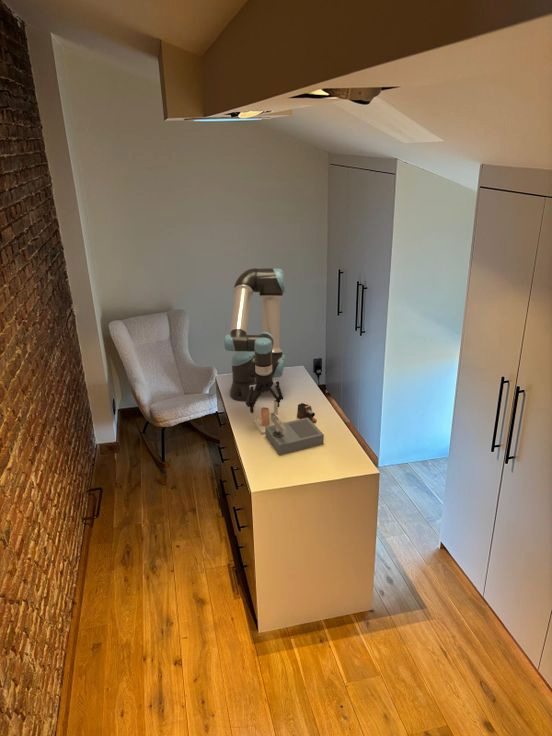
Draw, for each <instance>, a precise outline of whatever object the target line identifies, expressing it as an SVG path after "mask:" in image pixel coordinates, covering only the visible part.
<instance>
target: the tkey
mask: <svg viewBox="0 0 552 736" xmlns="http://www.w3.org/2000/svg"><path fill="white" fill-rule="evenodd" d="M270 419H271V420H272V422H273V423H274V424H275V426H276V434H277V435H280V434H281V433H282V435H285V434H286V427H285V426H284V425H283V423H284V422H282V421H281V419H280V418H279V417H278V416H277V415H276V414H275V413H274V412H272V413H270Z"/></svg>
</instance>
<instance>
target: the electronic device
mask: <svg viewBox="0 0 552 736" xmlns="http://www.w3.org/2000/svg"><path fill="white" fill-rule="evenodd" d="M312 409H313V408H312V406H311V405H309V404H307V403H303V402H301V403H299V404H297V413H296V418H298V419H303V418H309V419H310V420H311V421H312V422H313V423H314V424H315V423H316V422H317V418H315V415H316V413H315V412H313V410H312Z"/></svg>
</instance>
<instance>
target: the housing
mask: <svg viewBox="0 0 552 736" xmlns="http://www.w3.org/2000/svg"><path fill="white" fill-rule="evenodd" d="M282 423H283V425H284V426H285V427H286V434H285V435H282V433H281V434H280V435H277V434H276V426H275V425H273V426H268V427H265V433H266V434H265V438H266V439H267V440H268V443H270V445H271V446H272V447H273V449H274V450H275V451H276V453H277V454H278V455H279V456H283V455H285V454H290V453H294V452H299V451H303V450H305V449H310V448H314V447H318V446H322V445H324V441H325V438H324V437H325V435H324V433H323V432H322V431H321V430H320V429H319V428H318V426H317V425H315V422H314V423H313V422H312V421H311V420H310V419H309V418H303V419H300V418H298V419H295V420H290V421H287V422H282Z"/></svg>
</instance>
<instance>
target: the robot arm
mask: <svg viewBox="0 0 552 736" xmlns="http://www.w3.org/2000/svg"><path fill="white" fill-rule="evenodd" d="M286 288H287V287H286V279H285V273H284V270H283V269H281V268H274V267H273V268H272V267H271V268H269V267H267V268H255V267H254V268H253V267H252V268H249V269H247V270H245V271H244V272H241V274H240V275H239V276H238V278H237V279H236V280H235V283H234V285H233V294H234V300H233V308H232V310H233V311H232V317H231V325H230V333H229V334H225V336H224V340H223V345H224V346H223V347H224V349H225V351H226V352H235V353H234V354H233V355H232V356H231V374H232V381H231V382H232V383H231V385H230V389H229V396H230V397H231V398H232V399H233V400H235V401H239V402H245V405H246V407H247V408H249V412H250V414H251V418H252V419H253V420H256V418H257V417H256V414H257V413H256V406H255V405H256V403H257V401H258V400H259V397H260V395H261V394H262V393H265V392H266V393H267V392H270V394H271V395H272V396H273V398H274V400H273V413H275V415H276V416H277V415H279V412H278V411H279V408H280V403H281V401H282V400H284V395H283V393H282V391H281V387H280V381H279V380H278V379H275V378H281V377H282V376H283V374H284V369H285V368H284V367H285V362H286V361H285V360H286V355H285V354H284V353H283V350H282V349H281V348H280V324H281V323H280V321H281V320H280V319H281V318H280V316H281V314H280V313H281V312H280V305H281V303H280V302H281V299H282V298H283V296H284V293H286V291H287V289H286ZM254 293H258V295H259V297H260V298H261V301H262V312H261V313H262V315H261V316H262V317H261V318H262V319H261V321H262V327H261V329H262V330H261V333H260V334H248V325H249V317H250V306H251V298H252V296H253V295H254ZM273 379H274V380H273ZM273 385H274V387H275V390H276V392H277V394H276V393H275V391H274V390H273V389H272V388H273ZM277 395H278V396H277Z"/></svg>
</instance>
